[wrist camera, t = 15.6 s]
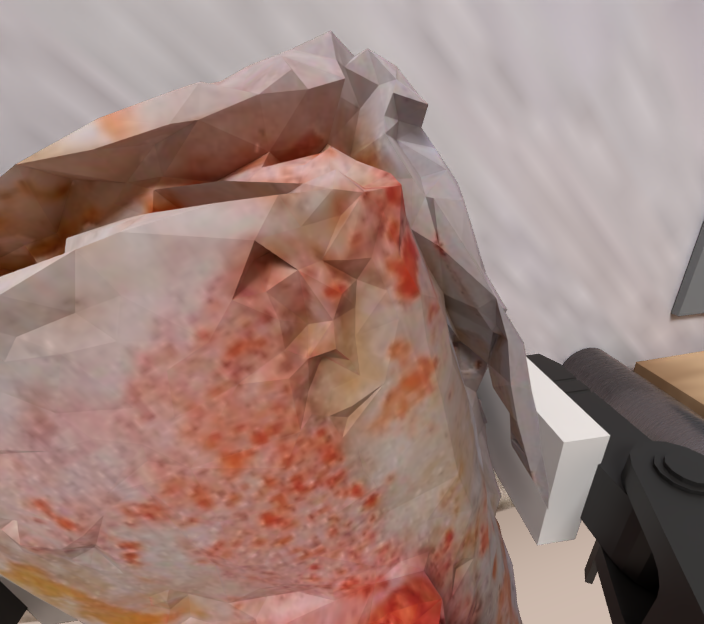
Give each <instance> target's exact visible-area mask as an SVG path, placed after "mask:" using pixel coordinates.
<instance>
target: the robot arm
mask: <svg viewBox="0 0 704 624" xmlns="http://www.w3.org/2000/svg"><path fill="white" fill-rule="evenodd" d="M526 359H527V365H528V371H529V377H530V383H531V389H532V394H533V398H534V403H535V407H536V411H537V415H538V420H539V430H540V440H541V450H542V457H543V461H544V466H545V471H546V475H547V480H548V485H549V502H548V509H547V507H546V505H545V503H544V501H543V499H542V497H541V495H540V493H539V491H538V489H537V487H536V485H535V483H534V481H533V480H532V478H531V476H530V475H529V473H528V472H527V470H526V468H525V467H524V465H523V463H522V462H521V460H520V458H519V457H518V455H517V454H516V452H515V450H514V449H513V447H512V445H511V433H510V413H509V412H508V410H507V408H506V407H505V405H504V404H503V402H502V401H501V399H500V398H499V396H498V395H497V393H496V391H495V390H494V388H493V386H492V381H491V377H490V373H489V368H487V370H486V372H485V374H484V376H483V379H482V381H481V383H480V385H479V388H478V390H477V392H476V393H477V396H478V399H480V400H481V404H482V409H483V412H484V414H485V417H486V420H487V423H486V434H487V444H488V448H489V453H490V457H491V462H492V466H493V469H494V471H495V472H496V474H497V476H498V478H499V479H500V481H501V483H502V485H503V486H504V488H505V490H506V492H507V493H508V495H509V497H510V499H511V500H512V502H513V504H514V506H515V507H516V509H517V511H518V513H519V514H520V516H521V518H522V520H523V521H524V523H525V525H526V527H527V528H528V530H529V532H530V534H531V535H532V537H533V539H534V541H535V542H536V544H537V545H543V544H549V543H555V542H561V541H568V540H574V539H575V538H576V535H577V532H578V529H579V526H580V523H581V520H582V521H583V522H584V523H585V525H586V526H587V527H588V529H589V530H590V532H591V533H592V534H593V536H594V537H595V538H596V541H595V544H594V546H593V549H592V552H591V554H590V557H589V559H588V562H587V565H586V567H585V582H587V583H591V584H592V583H593V581H594V578H595V576H596V573H597V571H598V574H599V578H600V581H601V585H602V588H603V592H604V596H605V599H606V603H607V606H608V610H609V613H610V617H611V620H612V624H704V455H702V454H700V453H698V452H696V451H693V450H691V449H689V448H686V447H684V446H680V445H676V444H672V443H668V442H664V441H652V440H651V439H649V438H648V437H647V436H646V435H645V434H643V433H642V432H641V431H640V430H639V429H637V428H636V427H635V426H634V425H633V424H631V423H630V422H629V421H628V420H627V419H625V418H624V417H623V416H622V415H621V414H619V413H618V412H617V411H616V410H615V409H613V408H612V407H611V406H610V405H609V404H607V403H606V402H605V401H604V400H603V399H601V398H600V397H599V396H598V395H597V394H595V393H594V392H591V391H590V389H589V388H588V387H587V386H586V385H585V384H583V383H582V382H581V381H580V380H577V379H576V377H575V376H574V375H573V374H572V373H570V372H569V371H568V370H567V369H566V368H564V367H563V366H562V365H561V364H559V363H557V362H555V361H553V360H551V359H549V358H547V357H545V356H543V355H540V354H534V355H527V356H526ZM26 610H28V611H29V612H30V613H31V614H32V615H33V616H34V617H35V618H36V619H37V620H38V621H39V622H40V623H42V624H59V623H65V622H71V621H77V619H75V618H73V617H72V616H70V615H68V614H66V613H64V612H63V611H61V610H59V609H57V608H55V607H53V606H52V605H50V604H48V603H46V602H44V601H42V600H41V599H39V598H37V597H36V596H34V595H32V594H31V593H29V592H27V591H26V590H24V589H22V588H21V587H19V586H17V585H16V584H14V583H12V582H11V581H9V580H7V579H6V578H4V577H2V576H1V575H0V624H17V623H18V622H19V620H20V619H21V617H22V616H23V614H24V613H25V611H26Z"/></svg>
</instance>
